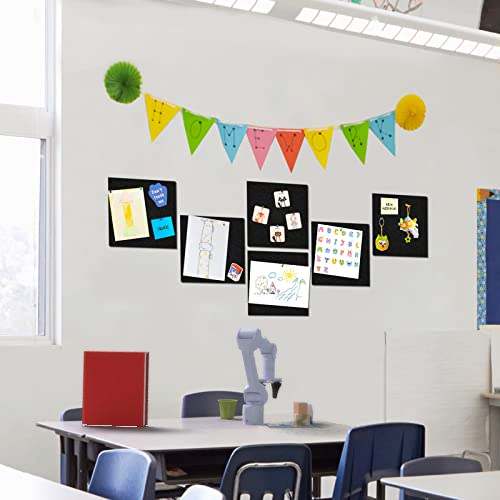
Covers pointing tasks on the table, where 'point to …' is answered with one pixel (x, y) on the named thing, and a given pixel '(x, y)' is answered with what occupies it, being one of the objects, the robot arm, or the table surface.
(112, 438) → the table surface
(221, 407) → the plant pot
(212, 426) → the table surface
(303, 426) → the blueprint mat
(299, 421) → the maple base block
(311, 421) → the small box
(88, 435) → the table surface
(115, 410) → the book
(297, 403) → the terracotta block
